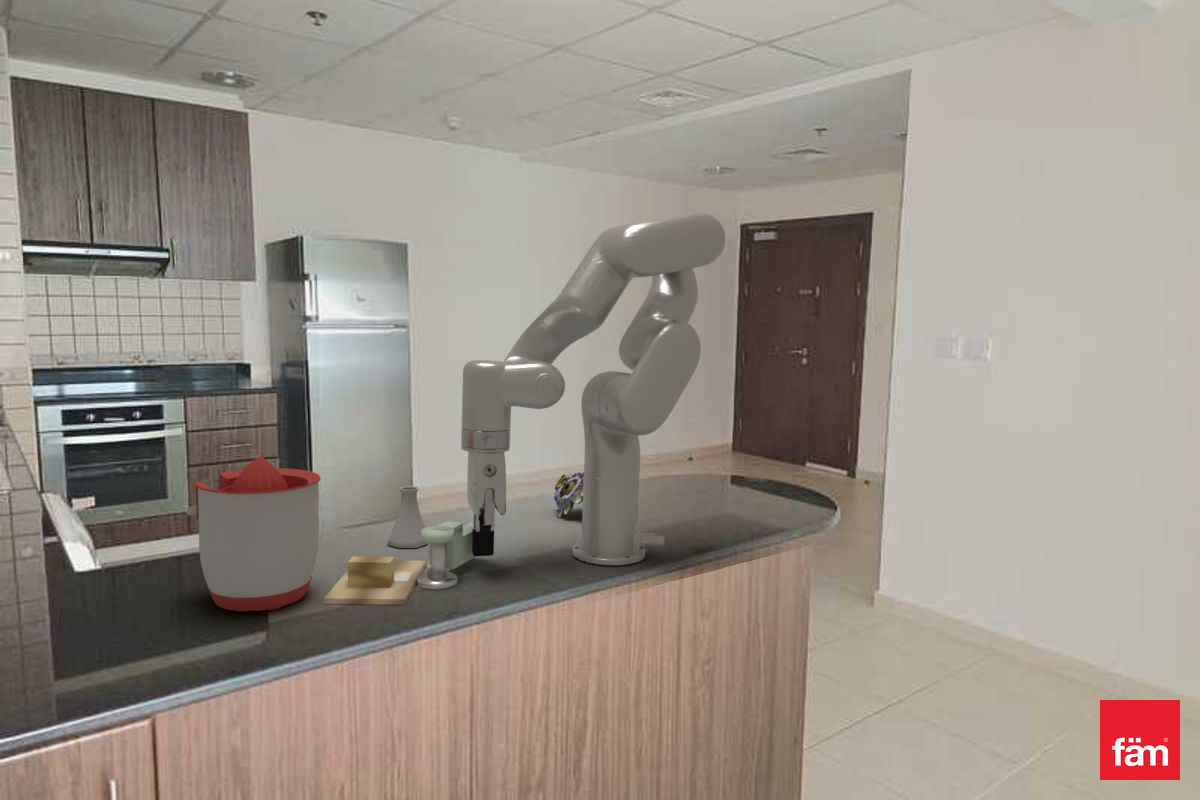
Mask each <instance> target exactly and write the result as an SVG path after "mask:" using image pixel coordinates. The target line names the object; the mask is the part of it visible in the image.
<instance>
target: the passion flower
mask: <svg viewBox="0 0 1200 800" xmlns="http://www.w3.org/2000/svg"><path fill="white" fill-rule="evenodd" d="M583 484H584V471H583V472H582V473H581V472H580V471H579V472H577V473H574V474H571V476H569V475H568V474H565V473H563V474H562V475H561V476H560V477H559V478H558V479H557V481H556V482H555V483H554V487H555V488H554V490H555V492H554V493H552V494H551V496H552V497H553V499H554V501H555V505H556V506H557V509H556V511H557V512H559V513H558V515H557V517H558V516H563V517H564V516H568V515H569V514H570V513H571V512H572V510H573V509H574V508H573V507H574V505H575V504H576V505H579V504H582V503H583Z"/></svg>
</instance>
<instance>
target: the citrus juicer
mask: <svg viewBox="0 0 1200 800" xmlns="http://www.w3.org/2000/svg"><path fill="white" fill-rule="evenodd" d="M320 481H321V476H320V475H319V474H318V473H317V472H313V471H311V470H304V469H297V468H279V467H277V468H275V467H274V465H273V464H271V462H269V461H268V460H267V459H265V458H264V457H262V456H258V457H256V458H254V459H253V460H252V461H250V463H249V464H248V465H247V466H246V467H245V468H244V469H237V470H230V471H224V472H221V473H218V490H213V489H211V488H210V485H208V484H205V483H201V482H199V481H196V482H195V496H196V500H195V501H196V503H194V504H193V505H190V507H188V508H187V511H186V515H187V516H192V515H193V516H195V515H196V520H198V547H199V549H198V550H199V558H200V559H199V560H200V564H201V568H202V572H203V576H204V577H203V578H204V579H205V582H206V585H207V590H208V592H209V595H210V597H211V598H212V601H213V602H214V604H215V605H216V606H217V605H218V606H217V607H219V608H221V609H223V610H224V609H225V610H229V611H235V612H259V611H277V610H279V609H281V608H282V607H284V606H288V605H290V604H291V605H292V604H293V603H295V602H297V601H299V600H301V599H302V598H303V597H304V596H305V595H306V593H307V590H308V589H309V586H310V584H311V580H313V579H312V578H313V572H314V569H315V565H316V561H317V556H318V552H319V538H320V534H319V533H320V528H319V527H320V526H319V525H320V522H319V518H320V517H319V516H320V514H319V513H320V512H319V511H320V510H319V509H320V506H319V497H320V495H319V494H320V493H319V487H320V485H319V482H320Z"/></svg>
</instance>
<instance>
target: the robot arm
mask: <svg viewBox="0 0 1200 800" xmlns="http://www.w3.org/2000/svg"><path fill="white" fill-rule="evenodd" d="M725 245H726V232H725V229H724V227H723V225H722V224H721V222H720V221H719V220H718V218H716V217H715V216H713V215H711V214H709V213H705V212H696V213H691V214H685V215H682V216H681V215H680V216H675V217H670V218H665V219H659V220H650V221H642V222H635V223H629V224H624V225H619V226H613V227H610V228H608V229H606V230H604V231H603V232H602V233H600V235H599V236H597V238H596V239H595V240H594V242H593V243H592V244H591V246H590V248H589V249H588V250H587V252H586V254H585V255H584V257H583V259H582V260H581V261H580V263H579V264H578V266H577V268H576V269H575V270H574V272H573V273H572V275H571V277H570V278H569V279H568V281H567V283H566V284H565V285H564V287H563V289H562V290H561V291H560V293H559V294H558V295H557V297H556V298H555V299H554V300H553V301H552V302H551V303H550V304H549V305H548V306H547V307H546V308H545V309H544V310H542V312H541V313H540V314H539V315H538V316H537V317H536V318H535V319H534V320H533V321H532V322H531V323H530V324H529V326H527V327H526V329H525V330H524V331H523V332H522V334H521V335H520V336H519V337H518V339H517V340H516V342H515V343H514V345H513V347H512V348H511V349H510V351H509V353H508V354H507V356H506V357H505V359H504V360H503V361H501V360H483V359H482V360H480V359H479V360H477V359H475V360H470V361H468V362H466V364H465V365H464V367H463V370H462V398H461V399H462V401H461V404H462V405H461V407H462V408H461V440H460V443H461V444H460V445H461V446H460V449H461V450H462V451H465V452H467V454H468V455H467V477H466V478H467V481H466V482H467V483H466V485H467V488H466V489H467V503H468V506H469V508H470V509H471V511H472V513H473V516H472V517H473V519H472V521H473V527H474V528H475V529H473V531H472V553H473V555H474V556H475V557H490V556H493V555H494V553H495V552H494V551H495V550H494V549H495V516H496V514H495V513H496V511H497V512H498V514H500V515H501V516H504V515H505V514H506V513H507V471H506V467H507V466H506V455H505V452H509V451H510V448H511V447H510V446H511V422H512V421H511V419H512V418H511V416H512V407H519V408H528V409H531V410H532V409H533V410H534V409H535V410H543V409H548V408H551V407H553V406H554V405H556V404H557V403H558V402H559V401H560V400H561V399H562V397H563V396H564V394H565V393H564V392H565V387H566V383H565V378H564V376H563V374H562V372H561V371H560V369H558V368H557V367H556V366H555V365H553V363H554V362H555V361H556V360H557V358H558V357H559V356H561V355H560V354H562V352H564V351H565V350H566V349H567V348H568V347H570V346H571V345H573V344H574V343H575V342H577V341H579V340H581V339H584V338H585V337H587V336H588V335H591V334H592V333H593V332H595V331H596V330H597V329H600V327H601V326H602V325H603V324H604V323H605V321H606V320H607V318H608V316H609V315H610V313H611V311H612V310H613V309H614V307H615V305H616V303H617V302H618V301H619V299H620V297H621V296H622V295H623V293H624V291H625V290H626V289H627V287H628V285H629V283H630V282H631V281H632V280H633V279H635V278H636V279H637V278H645V277H651V284H650V285H651V286H650V288H649V291H648V293H647V295H646V296H645V299H644V301H643V302H642V304H641V306H640V307H639V309H638V310H637V313H635V316H634V317H633V319H632V321H631V322H630V324H629V325H628V327H627V329H626V330H625V332H624V334H623V335H622V337H621V340H620V342H619V347H618V355H619V358H620V360H621V362H622V364H623V365H624V366H625V367H627V368H628V369H629V370H632V372H631V373H628V372H621V371H614V370H613V371H608V370H607V371H605V372H604V371H603V372H601V373H597V374H596V375H593V377H591V379H590V380H588V382H587V383H586V385H585V386H584V389H583V391H582V396H581V406H580V407H581V417H582V425H583V435H584V436H583V437H584V461H583V462H584V465H583V472H584V484H583V502H582V515H581V517H582V519H581V523H582V525H581V540H580V541H578V542H575V544H573V545H572V550H571V551H572V555H573V556H574V557H575V558H576V559H577V558H578V559H577V560H579V561H582V562H584V561H585V563H588V564H592V563H593V565H599V566H600V565H601V566H626V565H630V564H631V565H632V564H636V563H639V562H641V561H642V560H643V559H644V558H645V557H646V549H647V547H653V548H665V535H656V533H650V532H649V533H648V532H647V533H643V532H642V531H641V530H640V528H639V527H638V526H639V525H638V522H639V521H638V516H639V514H638V513H639V495H640V494H639V492H640V491H639V490H640V469H641V444H640V439H639V436H646V435H650V434H652V433H654V432H656V431H657V430H659V429H660V428H661V427H662V425H663V424H664V423H666V421H667V419H669V416H670V415H671V413H672V412H673V409H674V408H675V406H676V405H677V403H678V401H679V400H680V398H681V397H682V394H683V392H684V391H685V389H686V387H687V386H688V384H689V382H690V380H691V379H692V376H693V375H694V373H695V371H696V369H697V367H698V364H699V362H700V357H701V353H702V352H701V348H702V347H701V345H702V344H701V340H700V337H699V334H698V331H696V329H695V328H694V327H693V326H692V325H691V324H690V323H689V322H690V319H691V318H692V315H693V313H694V312H695V309H696V307H697V304H698V299H699V289H698V282H697V278H696V277H697V276H696V273H695V270H694V269H695V268H700V267H705V266H707V265H710V264H712V263H713V262H715V261H716V260H717V259H718V258H719V257H720V256H721V255H722V253H723V251H724V249H725Z"/></svg>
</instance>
